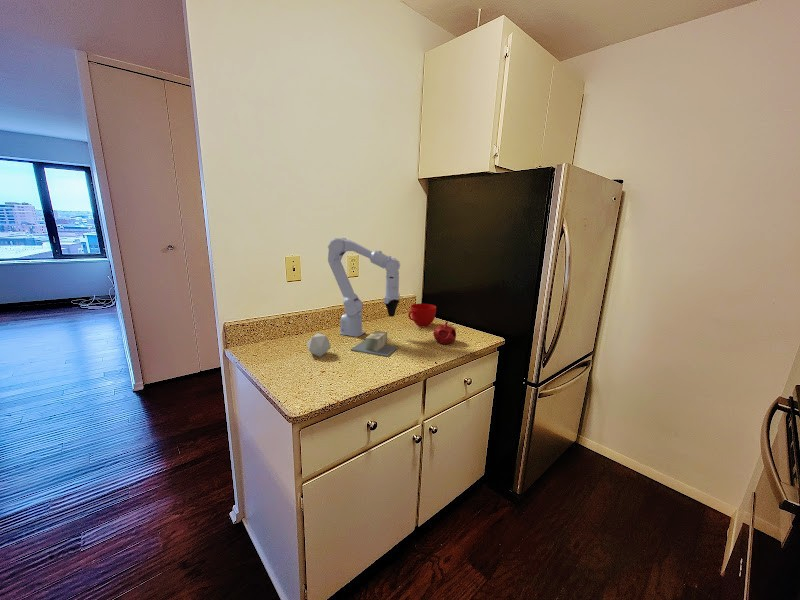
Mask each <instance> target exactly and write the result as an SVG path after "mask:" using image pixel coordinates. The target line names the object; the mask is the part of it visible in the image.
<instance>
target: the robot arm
mask: <svg viewBox="0 0 800 600" xmlns="http://www.w3.org/2000/svg"><path fill="white" fill-rule="evenodd" d="M327 248H328V254H327V262H328V264H329V265H328V266H329V267H330V269H331V271H332V274H333V276H334V279H335V281H336V284H337V285H338V288H339V289H340V292H341V295H342V297H343V302H342V303H343V305H344V314H342V315H341V317H340V322H339V323H340V328H339V329H340V332H339V335H341V336H350V337H356V338H358V337H360V336H361V335H364V334H365V333H366V331H365V330H363V313H362V310H363V308H364V302H363V301H362V300H361V299H360V298H359V296H358V295H357V294H356V293H355V291H354V289H353V287H352V284H351V282H350V280H349V277H348V275H347V272H346V271H345V267H344V265H343V263H342V260H343V257H344V255H345V253H347V252H354V253H357V254H359V255H360V256H364V257H365V258H368V259H369V261H370V263H371V264H373V265H376V266H377V267H380V268H382V269H385V271H386V275H385V296H384V298H383V300H382V301H383V304H385V307H386V309H387V313H388V316H389V317H390V318H393V317H395V314H396V311H397V307H398V305H399V304H400V299H401V298H402V296H401V294H400V292H399V286H400V276H399V275H400V267H401V263H400V261H399V260H398V259H397V258H395V257H394V258H393V257H392V256H391V255H387V254H385V253H383V251H382V250H374V251H372V250H370V249H368V248H366V247H365V246H362V245H361V244H359V243H357V242H355V241H353V240H351V239H347V238H346V237H339V238H338V237H337V238H336V237H334V238H332V239H331V240H330V242H329V244H328V245H327Z"/></svg>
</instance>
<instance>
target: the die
mask: <svg viewBox="0 0 800 600" xmlns="http://www.w3.org/2000/svg"><path fill="white" fill-rule="evenodd" d="M306 343H307V348H308V351H309V353H311V354H312V355H314V356H317V357H319V358H322V356H324V355H325V354H326V353H327V352H328V351H330V349H331V348H332V347H331V344H330V340H329V338H328V336H327V335H325V334H321V333H318V332H317V333H315V335H313V336H312V337H311V338H310V339H308V340H307V341H306Z"/></svg>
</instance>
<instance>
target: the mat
mask: <svg viewBox="0 0 800 600" xmlns="http://www.w3.org/2000/svg"><path fill="white" fill-rule="evenodd" d="M398 347H399V346H397V345H390V344H386V345H385V346H383V347H382V348H381V349H380V350H378V351H371V350H366V340H363V341H361V342H360V343H358V344H356V345H354V346H353V347H352V348H350V352H358V353H364V354H369V355H373V356H380V357H381V356H382V357H385V358H386V357H387V358H388V357H390V356H391V354H392V353H394V352H395V351H396V350H397V349H398Z"/></svg>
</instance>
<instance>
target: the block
mask: <svg viewBox="0 0 800 600" xmlns="http://www.w3.org/2000/svg"><path fill="white" fill-rule="evenodd" d="M365 341H366V350H371V351H378V350H380V349H381V348H382V347H383V346H385V345H388V332H387V331H380V330H375V331H374V332H372V333H371V334H369V335H367V336H366V337H365Z"/></svg>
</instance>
